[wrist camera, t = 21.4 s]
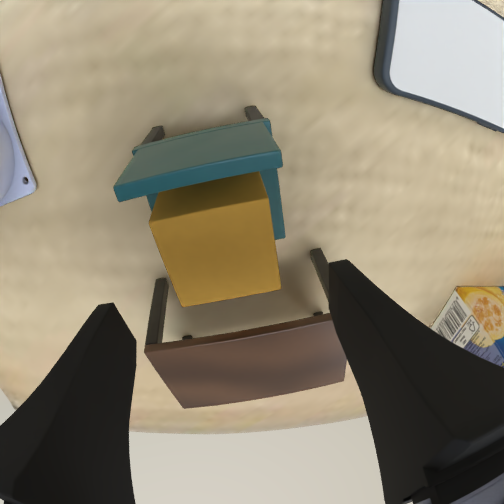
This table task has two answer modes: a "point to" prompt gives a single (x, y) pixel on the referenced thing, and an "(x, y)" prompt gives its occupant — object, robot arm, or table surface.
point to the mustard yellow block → (217, 239)
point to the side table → (247, 355)
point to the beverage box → (475, 321)
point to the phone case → (444, 56)
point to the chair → (206, 161)
